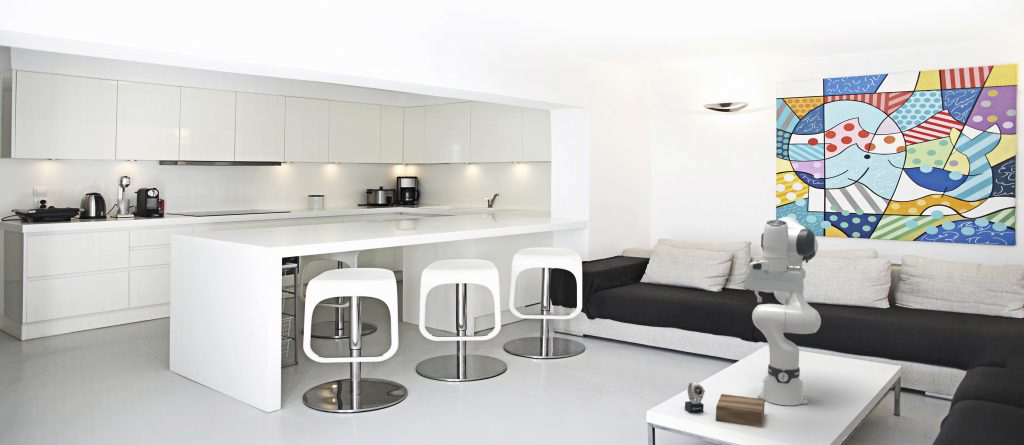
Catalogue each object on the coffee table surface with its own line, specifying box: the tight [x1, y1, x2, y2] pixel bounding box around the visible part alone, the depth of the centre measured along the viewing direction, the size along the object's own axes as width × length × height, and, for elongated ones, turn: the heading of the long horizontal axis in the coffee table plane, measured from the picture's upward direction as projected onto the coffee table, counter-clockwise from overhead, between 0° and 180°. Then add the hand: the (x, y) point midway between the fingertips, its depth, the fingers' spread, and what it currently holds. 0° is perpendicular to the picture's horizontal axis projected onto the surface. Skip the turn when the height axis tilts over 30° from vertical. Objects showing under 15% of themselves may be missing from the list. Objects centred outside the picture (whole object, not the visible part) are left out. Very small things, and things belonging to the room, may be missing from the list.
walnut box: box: [715, 393, 766, 428], centre depth 273 cm, size 16×16×6 cm
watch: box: [684, 381, 705, 414], centre depth 279 cm, size 6×8×11 cm
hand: (773, 303), depth 264 cm, fingers open, 8 cm apart
